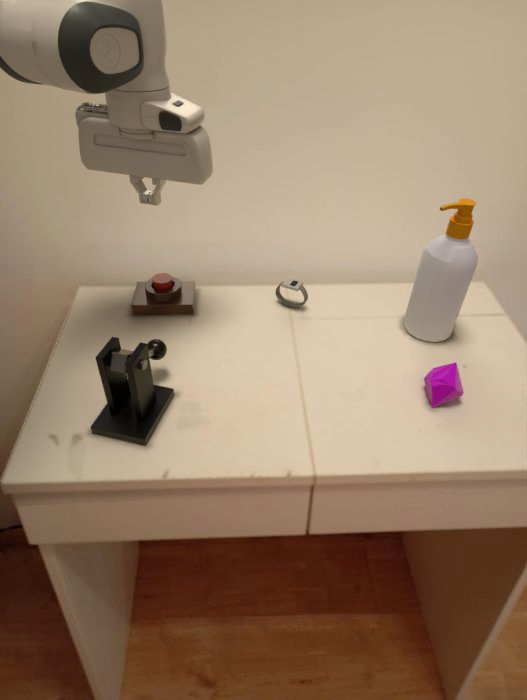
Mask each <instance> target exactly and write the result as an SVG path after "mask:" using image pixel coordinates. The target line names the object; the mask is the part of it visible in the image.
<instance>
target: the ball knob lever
mask: <svg viewBox="0 0 527 700" xmlns="http://www.w3.org/2000/svg"><path fill="white" fill-rule="evenodd" d="M146 343H147V347H148V353H149V359H150V360H152V361H160V360H162V359H163V358H164V357H166V355H167V353H168V348H167V344H166V343H165V342H164V341H163V340H161V339H158V338H153V339H151V340H149V341H148V342H146ZM133 352H134V350H130V349H124V348H121V350H117V351H114V352H112V356H111V366H110V370H113V371H118V372H122V373H127V372H126V367H125V363H126V361H127V360H128V358H129V357H130V356H131V354H132V353H133Z"/></svg>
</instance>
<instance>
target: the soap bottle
mask: <svg viewBox="0 0 527 700" xmlns="http://www.w3.org/2000/svg"><path fill="white" fill-rule="evenodd" d="M476 205H477V202H476V201H475V200H473V199H470V198H460V199H459V200H458V202H451V203H447V204H444V205H441V206H440V207H439V211H441V212H444V211H447V210H457V211H455V212H454V213H453V215H452V216H450V217H449V221H448V224H447V227H446V230H445V233H443V234H440V235H438V236H436V237H435V238H434V239H432V240H431V241H430V242H428V243H427V245H426V246H425V248H424V250H423V252H422V254H421V257H420V260H419V264H418V268H417V270H416V271H417V272H416V275H415V278H414V282H413V286H412V289H411V293H410V296H409V299H408V303H407V306H406V311H405V314H404V317H403V326H404V329H405V330H406V332H407V333H408V334H410V335H411V336H413V337H414V338H416V339H419V340H422V341H425V342H431V343H437V342H444V341H446V340H447V339H449V338H450V337H451V336H452V333H453V331H454V328H455V325H456V323H457V320H458V317H459V315H460V313H461V309H462V307H463V303H464V301H465V298H466V296H467V293H468V290H469V287H470V285H471V283H472V280H473V277H474V274H475V272H476V270H477V266H478V259H479V258H478V257H479V255H478V253H477V250H476V248H475V245H474V243H473V241H472V240H471V239H469V238H470V235H471V231H472V229H473V227H474V223H475V222H474V219H473V217H474V215H473V214H472V213H473V210H474V208H475V206H476Z"/></svg>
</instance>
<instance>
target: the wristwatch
mask: <svg viewBox="0 0 527 700" xmlns="http://www.w3.org/2000/svg"><path fill="white" fill-rule="evenodd" d="M281 288H285V289H289V290H291V291H295V292H299V291H300V292H301V294H302V295H303V301H302V302H298V303H296V302H292V301H289V300H288V299H287V298H285V297H284V296H283V295H282V293H281V290H280V289H281ZM275 296H276V298H277V300H278V301H280V303H281V304H283V305H285V306H287V307H289V308H294V309H295V308H300V307H303V306H305V304H306V303H307V302H308V300H309V293H308V291H307V288H306V287H305V286H304V282H303V281H300V280H297V279H293V278H290V277H286V279H285V280H282V281H281V282H280V283H279V284H278V285H277V287H276V288H275Z"/></svg>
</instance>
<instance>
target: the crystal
mask: <svg viewBox="0 0 527 700" xmlns="http://www.w3.org/2000/svg"><path fill="white" fill-rule="evenodd" d="M423 381H424V385H425V389H426V392H427V395H428V399H429V402H430V406H431V408H435V407H437V406H440V405H442V404H443V405H444V404H445V403H447V402H450V401H452V400H455V399H457V398H460V397H463V396H464V393H465V392H464V388H463V384H462V380H461V376H460V372H459V368H458V363H457V361H455V362H451V363H448V364H444V365H440V366H436V367H432V368H431V370H429V372H428V373H427V374H426V375H425V376H424V377H423Z"/></svg>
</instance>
